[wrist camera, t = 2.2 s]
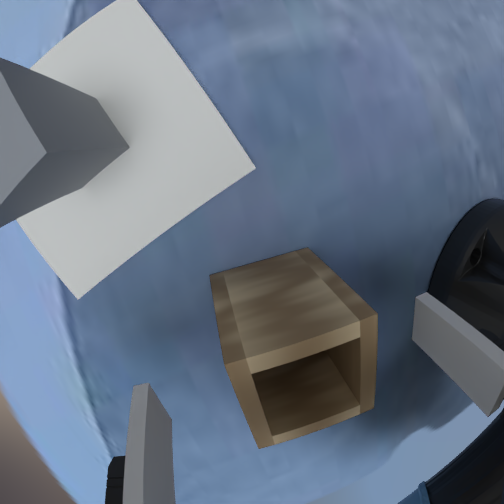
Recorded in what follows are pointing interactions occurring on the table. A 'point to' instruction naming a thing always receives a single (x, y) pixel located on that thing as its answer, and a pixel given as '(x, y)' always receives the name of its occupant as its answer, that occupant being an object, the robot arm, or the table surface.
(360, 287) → the table surface
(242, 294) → the collar
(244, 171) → the post board
